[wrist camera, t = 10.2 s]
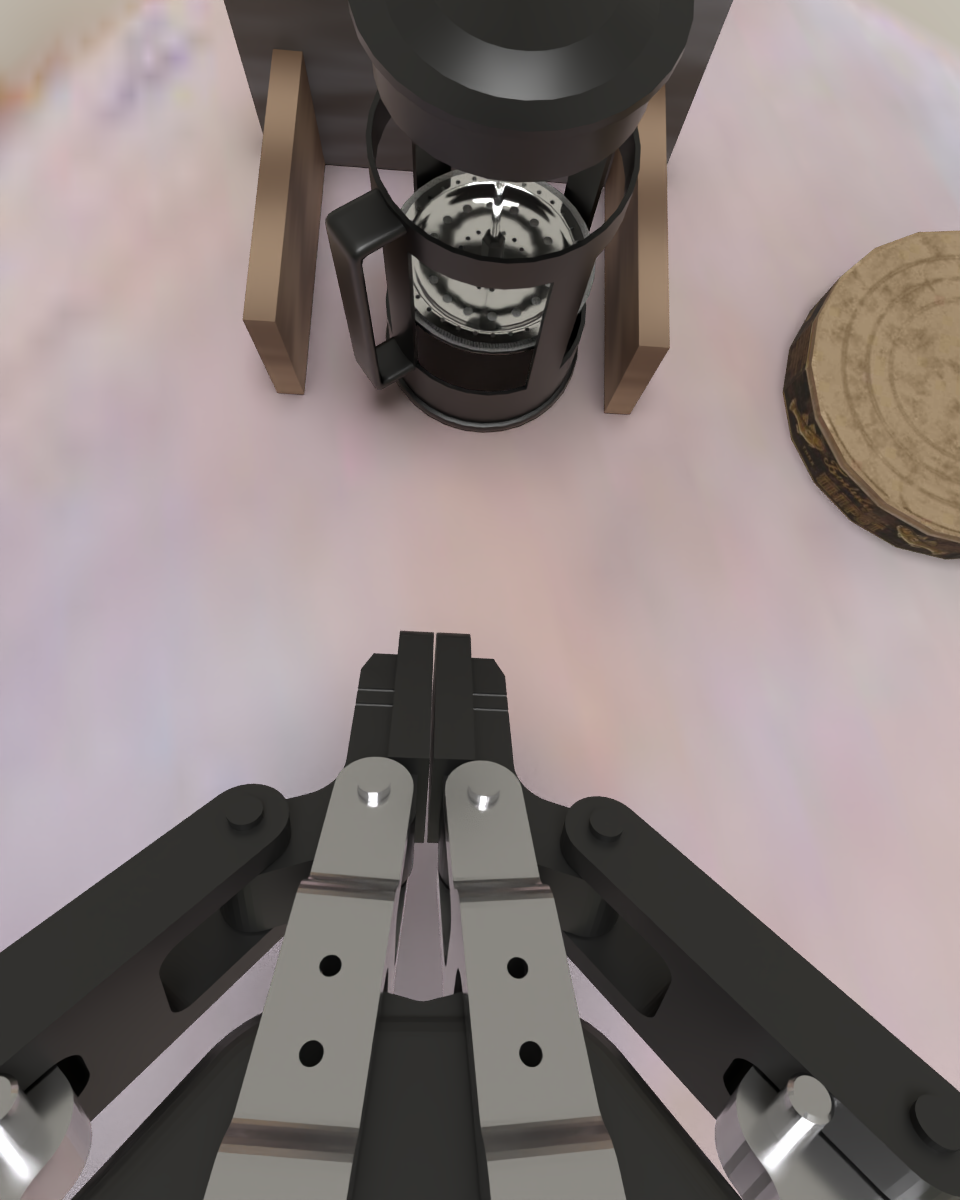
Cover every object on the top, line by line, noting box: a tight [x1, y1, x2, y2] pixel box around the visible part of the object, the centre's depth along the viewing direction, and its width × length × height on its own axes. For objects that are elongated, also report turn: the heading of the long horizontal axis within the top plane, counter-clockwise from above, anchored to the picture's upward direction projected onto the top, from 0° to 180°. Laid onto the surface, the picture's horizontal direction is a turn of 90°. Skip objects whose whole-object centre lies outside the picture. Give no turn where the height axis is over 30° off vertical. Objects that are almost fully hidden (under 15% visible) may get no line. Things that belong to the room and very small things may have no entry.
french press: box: [325, 0, 694, 432], centre depth 23 cm, size 12×9×23 cm
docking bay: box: [224, 0, 733, 414], centre depth 30 cm, size 14×20×10 cm
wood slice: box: [783, 231, 960, 559], centre depth 34 cm, size 16×16×3 cm
